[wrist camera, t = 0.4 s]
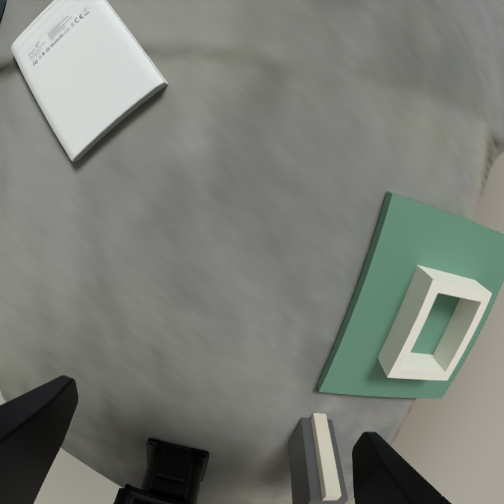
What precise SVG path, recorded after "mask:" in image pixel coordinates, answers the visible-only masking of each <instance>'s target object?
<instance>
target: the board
mask: <svg viewBox="0 0 504 504" xmlns="http://www.w3.org/2000/svg"><path fill="white" fill-rule="evenodd" d="M503 281H504V234H501V233H499V232H497V231H494V230H492V229H490V228H487V227H485V226H482V225H480V224H477V223H475V222H472V221H470V220H467V219H464V218H462V217H459V216H457V215H454V214H451V213H449V212H446V211H443V210H440V209H438V208H435V207H432V206H429V205H426V204H423V203H420V202H418V201H415V200H412V199H409V198H406V197H403V196H400V195H396V194H393V193H390V192H386V196H385V200H384V203H383V207H382V210H381V214H380V217H379V220H378V224H377V227H376V230H375V233H374V237H373V240H372V243H371V246H370V249H369V252H368V255H367V258H366V261H365V264H364V267H363V270H362V273H361V276H360V279H359V281H358V284H357V287H356V290H355V293H354V295H353V298H352V301H351V303H350V306H349V309H348V311H347V314H346V317H345V319H344V322H343V324H342V327H341V329H340V332H339V334H338V337H337V339H336V342H335V344H334V346H333V349H332V351H331V354H330V356H329V358H328V361H327V363H326V365H325V368H324V370H323V372H322V374H321V377H320V379H319V381H318V383H317V385H318V389H319V392H326V393H336V394H347V395H360V396H375V397H396V398H442V397H443V395H444V394H445V392H446V391H447V389H448V388H449V386H450V385H451V383H452V381H453V380H454V378H455V376H456V375H457V373H458V371H459V370H460V368H461V366H462V365H463V363H464V361H465V359H466V358H467V356H468V354H469V352H470V351H471V349H472V347H473V345H474V343H475V341H476V339H477V337H478V335H479V333H480V331H481V329H482V327H483V325H484V323H485V321H486V319H487V317H488V315H489V313H490V311H491V309H492V306H493V304H494V302H495V300H496V297H497V295H498V293H499V290H500V288H501V285H502V283H503Z"/></svg>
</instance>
